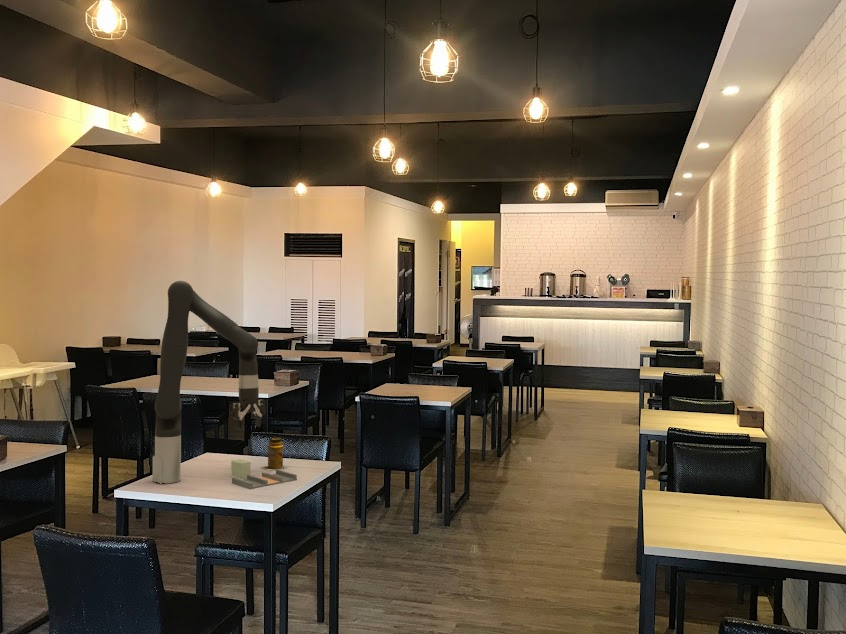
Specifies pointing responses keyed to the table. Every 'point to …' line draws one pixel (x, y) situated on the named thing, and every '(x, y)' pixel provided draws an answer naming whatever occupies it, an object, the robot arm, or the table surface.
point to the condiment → (274, 454)
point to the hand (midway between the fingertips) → (249, 428)
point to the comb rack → (265, 479)
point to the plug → (240, 468)
